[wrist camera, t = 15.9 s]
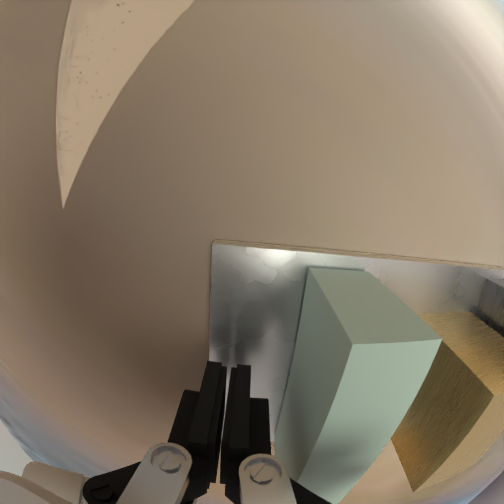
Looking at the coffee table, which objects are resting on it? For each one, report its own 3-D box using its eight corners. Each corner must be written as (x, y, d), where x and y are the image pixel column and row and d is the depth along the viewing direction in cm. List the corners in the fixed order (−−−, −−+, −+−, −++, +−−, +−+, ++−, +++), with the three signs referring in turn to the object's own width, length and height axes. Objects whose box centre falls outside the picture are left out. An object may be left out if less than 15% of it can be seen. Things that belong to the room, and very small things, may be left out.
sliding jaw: (273, 439, 12) (277, 515, 7) (308, 267, 10) (352, 344, 5) (323, 438, 12) (338, 509, 7) (377, 272, 10) (453, 337, 5)
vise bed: (212, 427, 13) (198, 510, 8) (215, 239, 10) (170, 302, 5) (440, 410, 13) (473, 463, 8) (501, 266, 10) (568, 302, 5)
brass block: (377, 409, 12) (413, 492, 6) (415, 314, 10) (493, 395, 4) (430, 398, 12) (473, 465, 6) (469, 311, 10) (541, 370, 4)
